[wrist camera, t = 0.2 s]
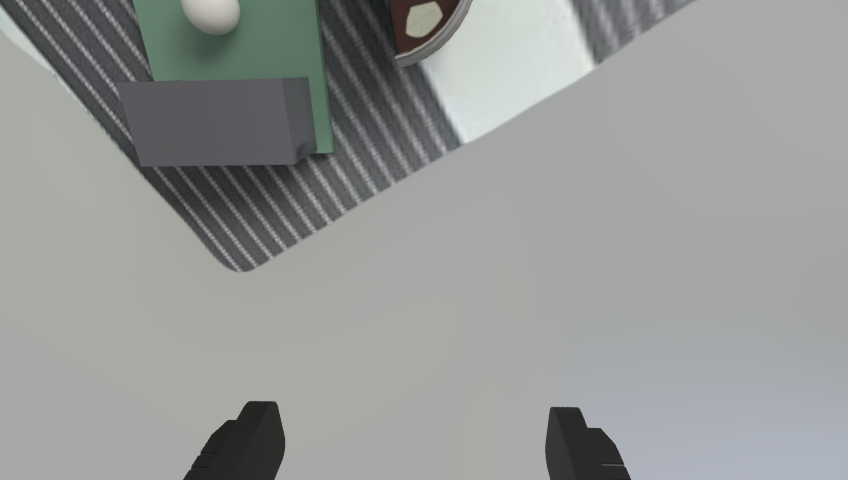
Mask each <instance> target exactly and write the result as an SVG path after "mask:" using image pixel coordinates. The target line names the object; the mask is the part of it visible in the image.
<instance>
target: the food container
mask: <svg viewBox="0 0 848 480" xmlns="http://www.w3.org/2000/svg"><path fill="white" fill-rule="evenodd" d="M388 1H389V7H390V12H391V18H392V24H393V30H394V36H395V41H396V46H397V52H398V55H397V56H396V57H395V59H396V61H397V64H398V66H399V67H400V68H401V67H405V66H409V65H412V64H415V63H417V62H419V61H421V60H423V59H425V58H427V57H429V56H430V55H431V54H433V53H434V52H436V51H437V50H439V49H440V48H441V47H442V46H443V45H444V44H445V43H446V42H447V41H448V40H449V39H450V38H451V37H452V36H453V34H454V33H455V32H456V31H457V29H458V28H459V27H460V25H461V23H462V22H463V20H464V18H465V16H466V15H467V13H468V11H469V8H470V6H471V3H472V1H473V0H388Z"/></svg>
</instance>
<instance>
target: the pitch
mask: <svg viewBox="0 0 848 480" xmlns="http://www.w3.org/2000/svg"><path fill="white" fill-rule="evenodd" d="M238 3H239V7H240V18H239V21H238V24H237V25H236V27H235V28H234V29H233V30H232V31H231V32H229V33H227V34H225V35H219V36H217V35H210V34H207V33H204V32H202V31H200V30H199V29H197V28H196V27H195V26H194V25H193V24H192V23H191V22H190V21H189V20H188V18H187V17H186V15H185V13H184V11H183V8H182V4H181V0H133V4H134V8H135V11H136V15H137V19H138V23H139V26H140V30H141V34H142V38H143V41H144V45H145V49H146V53H147V56H148V60H149V64H150V68H151V71H152V75H153V79H154V81H172V80H182V81H198V80H236V79H272V78H291V77H308V79H309V87H310V95H311V103H312V111H313V118H314V126H315V134H316V142H317V151H315V152H314V153H333V152H334V151H335V150H334V141H333V132H332V123H331V114H330V105H329V96H328V86H327V77H326V68H325V59H324V50H323V41H322V32H321V23H320V14H319V5H318V0H238Z"/></svg>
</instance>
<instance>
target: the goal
mask: <svg viewBox="0 0 848 480" xmlns="http://www.w3.org/2000/svg"><path fill="white" fill-rule="evenodd" d="M116 86H117V89H118V92H119V95H120V99H121V102H122V105H123V109H124V112H125V115H126V119H127V122H128V125H129V129H130V132H131V135H132V139H133V142H134V145H135V148H136V152H137V155H138V158H139V162H140V165H141V167H155V166H225V165H295V164H296V163H298V162H299V161H301V160H302V159H304V158H306V157H307V156H309V155H310V154H312V153H314V152H315V151H317V142H316V134H315V126H314V118H313V111H312V103H311V95H310V87H309V79H308V77H291V78H272V79H236V80H198V81H182V80H172V81H146V82H121V83H116Z"/></svg>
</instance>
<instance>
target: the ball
mask: <svg viewBox="0 0 848 480" xmlns="http://www.w3.org/2000/svg"><path fill="white" fill-rule="evenodd" d="M181 4H182V8H183V11H184V13H185V15H186V17H187V18H188V20H189V21H190V22H191V23H192V24H193V25H194V26H195V27H196V28H197V29H199V30H200V31H202V32H204V33H207V34H210V35H217V36H219V35H225V34H227V33H229V32H231V31H232V30H233V29H234V28H235V27H236V25H237V24H238V21H239V18H240V7H239V3H238V0H181Z"/></svg>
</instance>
